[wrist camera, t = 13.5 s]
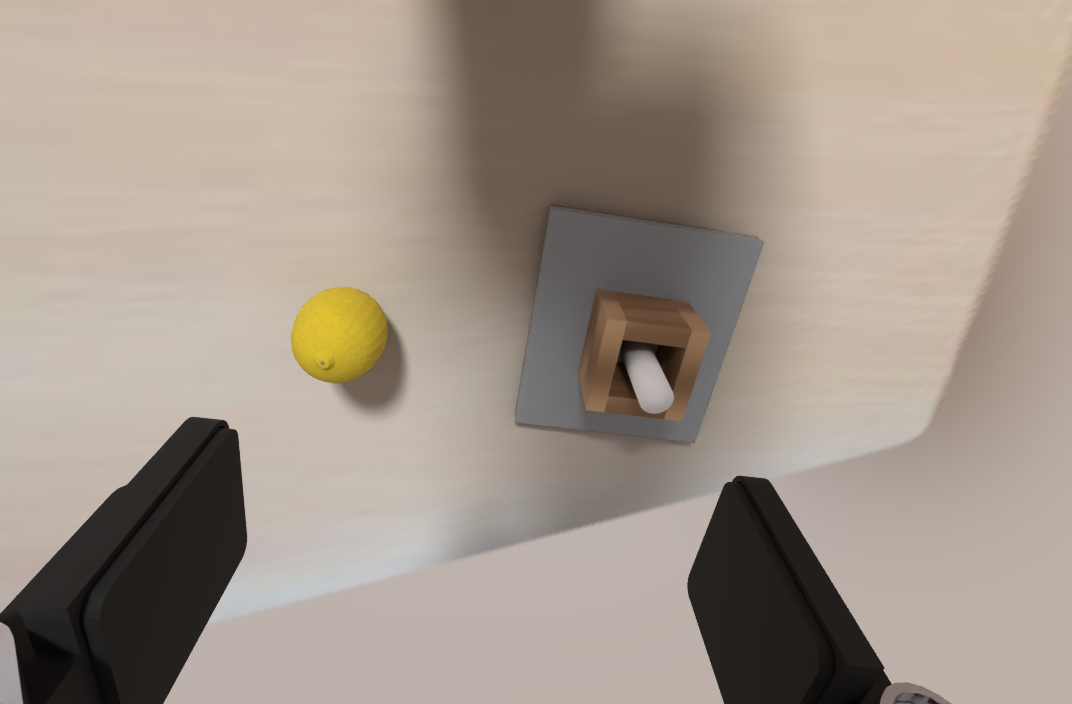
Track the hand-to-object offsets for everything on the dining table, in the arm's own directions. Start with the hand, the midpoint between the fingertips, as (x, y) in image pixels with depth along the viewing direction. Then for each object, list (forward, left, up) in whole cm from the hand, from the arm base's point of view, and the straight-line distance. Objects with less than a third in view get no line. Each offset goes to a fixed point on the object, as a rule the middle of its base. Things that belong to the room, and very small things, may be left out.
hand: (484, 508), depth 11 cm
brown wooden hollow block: (+8, +10, -27) cm, 30 cm away
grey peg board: (+8, +10, -28) cm, 31 cm away
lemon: (+9, -9, -28) cm, 31 cm away
